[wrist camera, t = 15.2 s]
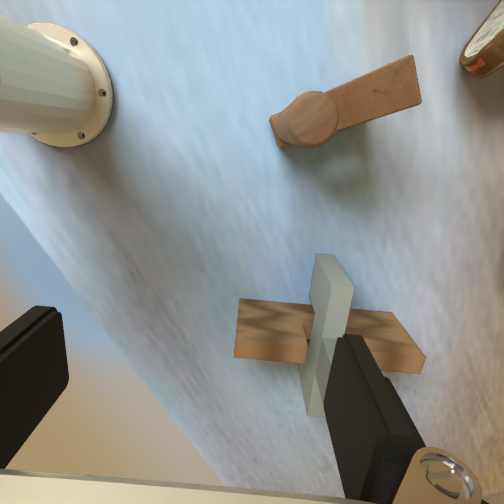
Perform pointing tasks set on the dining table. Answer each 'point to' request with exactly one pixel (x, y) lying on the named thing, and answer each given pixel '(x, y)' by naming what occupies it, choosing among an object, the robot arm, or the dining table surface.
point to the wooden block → (347, 105)
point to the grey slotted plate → (324, 328)
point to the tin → (486, 46)
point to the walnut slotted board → (300, 328)
